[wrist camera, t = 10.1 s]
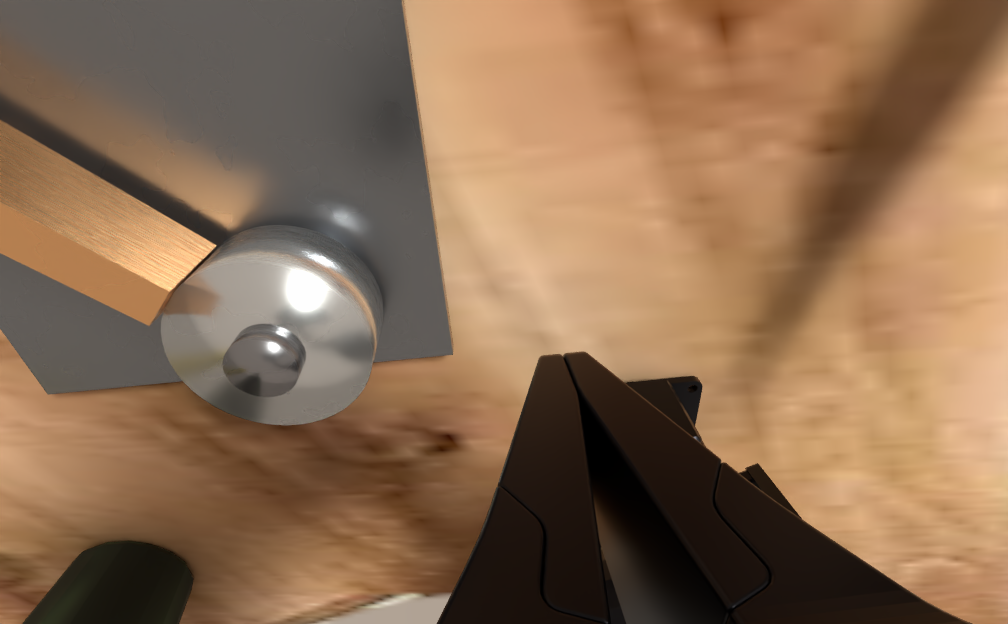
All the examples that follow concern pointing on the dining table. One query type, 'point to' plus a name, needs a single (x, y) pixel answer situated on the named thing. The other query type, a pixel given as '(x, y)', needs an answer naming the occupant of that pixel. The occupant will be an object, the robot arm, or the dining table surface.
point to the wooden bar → (201, 288)
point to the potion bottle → (118, 587)
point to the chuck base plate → (223, 154)
